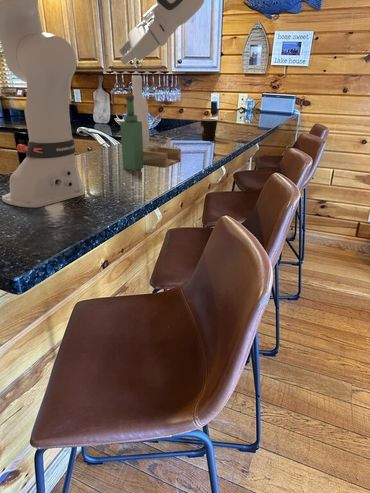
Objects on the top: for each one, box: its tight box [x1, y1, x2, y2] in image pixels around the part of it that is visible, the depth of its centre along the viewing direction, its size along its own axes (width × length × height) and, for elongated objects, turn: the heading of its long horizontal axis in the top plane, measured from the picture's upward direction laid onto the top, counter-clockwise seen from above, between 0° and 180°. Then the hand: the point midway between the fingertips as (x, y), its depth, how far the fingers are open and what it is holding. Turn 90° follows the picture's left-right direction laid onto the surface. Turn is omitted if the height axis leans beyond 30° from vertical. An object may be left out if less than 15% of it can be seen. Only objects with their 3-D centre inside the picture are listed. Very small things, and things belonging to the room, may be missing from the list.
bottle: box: [131, 75, 150, 150], centre depth 142 cm, size 8×8×30 cm
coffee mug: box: [199, 118, 218, 142], centre depth 185 cm, size 12×9×10 cm
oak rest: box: [143, 145, 182, 169], centre depth 136 cm, size 12×11×5 cm
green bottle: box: [120, 94, 145, 172], centre depth 124 cm, size 5×5×24 cm
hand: (121, 57), depth 110 cm, fingers open, 8 cm apart
